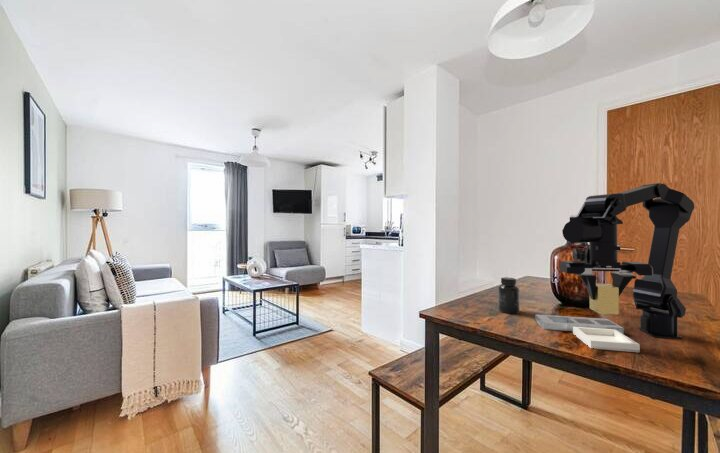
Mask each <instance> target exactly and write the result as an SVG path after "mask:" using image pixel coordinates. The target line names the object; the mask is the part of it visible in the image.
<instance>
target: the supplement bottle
mask: <svg viewBox="0 0 720 453" xmlns="http://www.w3.org/2000/svg"><path fill="white" fill-rule="evenodd" d="M497 292H498V294H497V299H498V300H497V304H498V306H497V307H498V311H500V312H501V313H505V314H519V312H520V288H519V287H518V286H517V278H514V277H509V276H508V277H504V276H503V277H501V280H500V285H499V286H498V288H497Z"/></svg>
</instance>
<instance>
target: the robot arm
mask: <svg viewBox="0 0 720 453" xmlns="http://www.w3.org/2000/svg"><path fill="white" fill-rule="evenodd" d="M641 203H642V207H643V209H645V210H646V211H648V218H649V220H650V221H651V222H652V224H653V225H654V226H653V227H654V228H653V233H652V237H651V238H652V239H651V245H650V250H649V256H648V259H647V260H648V262H647V263H645V262H641V261H622V262H620V261H618V251H621V246H620V245H618V225H623V224H624V221H623V220H622V219H620V218H619V217H617V216H618V215H621V214H622V213H624V212H625V211H626V210H627V208H628V207H630V206H634V205H637V204H641ZM694 210H695V203H694V201H693V200H692V199H691V198H690V197H689V196H688V195H687V194H686V193H684V192H681V191H678V190H676V189H673V188H670V187H669V186H668V185H667V184H665V183H661V182H657V183H649V184H643V185H640V186H638V187H634V188H632V189H631V188H630V189H628V190H624V191H620V192H616V193H608V194H607V193H606V194H597V195H596V194H594V195H589V196H587V197H586V198H585V201H584V203H583V204H582V206H581V208H580V209H579V211H578V212H577V214H576V216H569V221H568V222H566V224H564V226H563V227H562V228H563V229H561V230H562V232H561V234H562V236H563V238H564V240H565V241H567V242H568V243H570V244H578V243H579V244H581V243H582V244H583V243H589V244H586V250H583V249H582V248H573V249H572V260H561V261H560V263H559V264H558V265H559V266H558V268H559V270H558V271H561V272H564V273H565V274H570V275H576V276H579V277H580V279H581V280H582V282H583V284H584V285H585V288H586V290H587V293H588V296H589V295H590V297H591V299H592V300H595V296H596V283H597V275H594V274H593V272H610V276H611V279H612V284H611V285H613V286H616V287H619V297H620V296H621V294H622V293H623V291H624V290H625V288H626V287H627V286H628V285H629V284H630V282H631V281H632V280H633V279H635V280H634V285H633V289H632V291H631V292H632V297H633V298H632V299H633V303H634V306H635V308H636V310H642V313H641V315H640V327H638V329H639V330H640V331H642V332H644V333H646V334H647V335H650V336H652V337H655V338H663V339H665V338H666V339H678V340H679V339H681V340H683V337H682V336H681V335H679V334H678V318H681V319H682V318H683V317H685V315H686V311H687V308H686V307H685V305H684V304H683V303H682V302H681V300H680V299H679V298H678V289H677V287H676V285H675V284H674V283H673V281H672V273H673V272H672V271H673V268H674V267H673V266H674V261H675V255H676V249H677V245H678V239H679V233H680V229H681V228H683V227H684V225H686V224H687V223H689V221H690V220H691V217H692V213H693V212H694ZM634 273H635V274H636V275H637V276H642V277H641V278H637V276H636V275H634ZM590 297H589V298H590Z"/></svg>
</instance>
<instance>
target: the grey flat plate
mask: <svg viewBox="0 0 720 453" xmlns="http://www.w3.org/2000/svg"><path fill="white" fill-rule="evenodd" d="M534 321H535V322H536V323H537V324H538V325H539V326H540V327H541V328H542V329H543V330H552V331H562V332H563V331H565V332H573V327H586V328H600V329H615V330H617V331H618V332H620V333H622V334H623V335H625V333H624V332H625V331H624V327H623V326H621V325H619V324H617V323H616V322H614V321H612V320H610V319H608V318H600V317H599V318H598V317H585V316H584V317H583V316H567V315H553V314H551V315H550V314H535V315H534Z"/></svg>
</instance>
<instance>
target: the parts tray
mask: <svg viewBox="0 0 720 453" xmlns="http://www.w3.org/2000/svg"><path fill="white" fill-rule="evenodd" d="M572 334H573V335H574V336H575V335H576V336H575V337H577V338H578V339H579V340H580V341H581V342H583V343H584V344H585V345H586V346H587V345H588V346H587V347H588V348H590V349H593V348H594V349H595V350H605V351H617V352H618V351H619V352H631V353H639V354H640V352H641V351H640V350H641V349H640V347H641V346H640V343H639V342H636V341H635V340H634V339H631V338H630V337H628V336H627V335H625V334H624V335H623V334H622V333H620V332H618V331H617V330H615V329H600V328H586V327H573V331H572Z"/></svg>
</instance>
